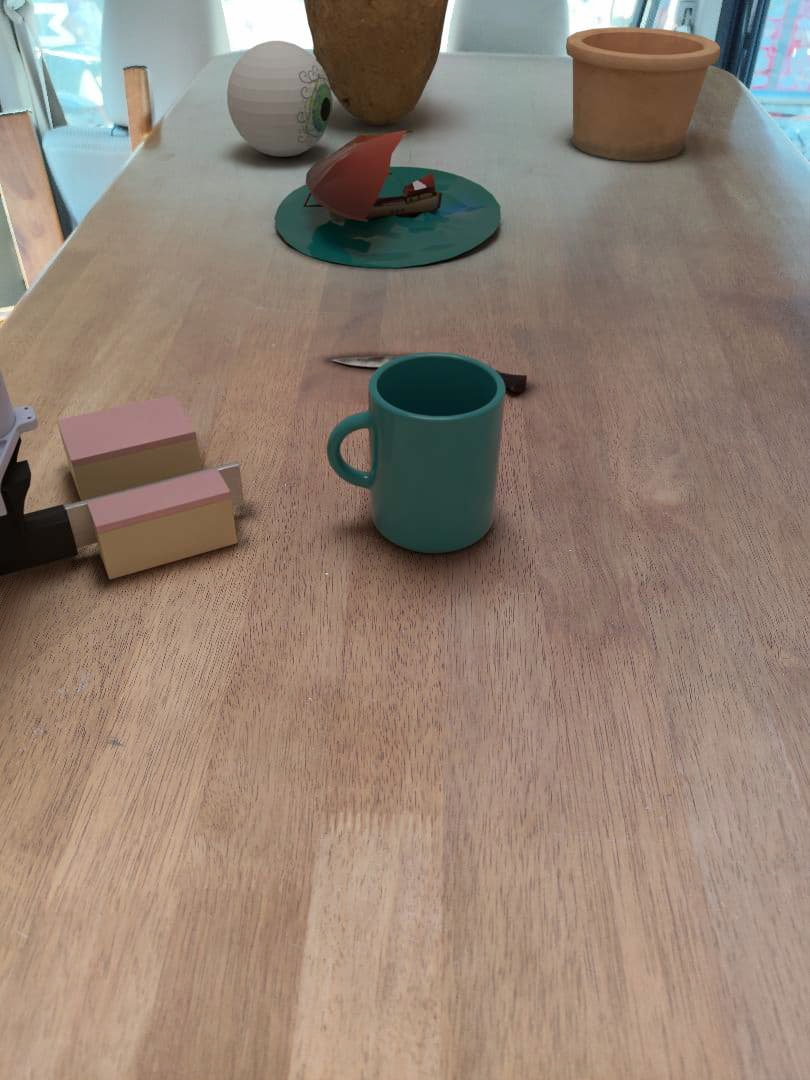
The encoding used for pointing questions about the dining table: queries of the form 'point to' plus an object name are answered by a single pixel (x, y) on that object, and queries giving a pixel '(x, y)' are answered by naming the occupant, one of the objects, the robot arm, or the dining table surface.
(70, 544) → the cake knife
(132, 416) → the cake
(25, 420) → the robot arm
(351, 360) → the knife
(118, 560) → the cake slice
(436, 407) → the cup
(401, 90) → the brown rounded tapered piece
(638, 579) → the dining table surface
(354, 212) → the sailing ship model
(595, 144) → the pottery
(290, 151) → the decorative object
